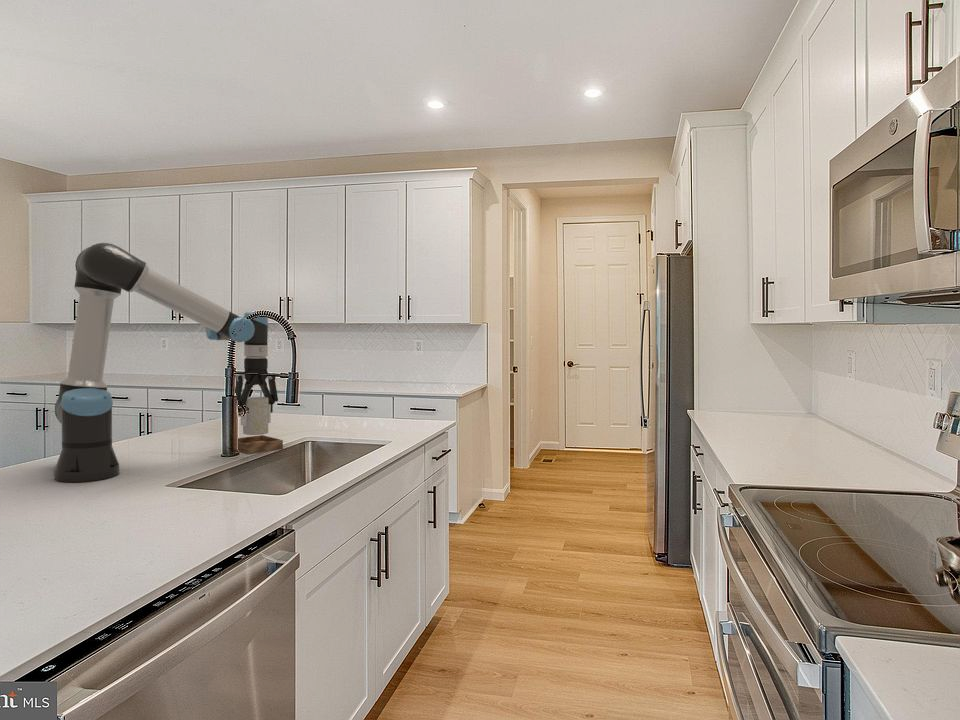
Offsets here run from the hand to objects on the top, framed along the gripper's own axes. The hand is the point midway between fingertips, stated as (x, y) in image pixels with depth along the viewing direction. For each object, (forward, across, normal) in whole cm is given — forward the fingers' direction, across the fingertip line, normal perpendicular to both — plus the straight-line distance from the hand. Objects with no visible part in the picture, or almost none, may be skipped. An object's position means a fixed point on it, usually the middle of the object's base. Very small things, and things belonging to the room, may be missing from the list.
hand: (255, 423), depth 212 cm
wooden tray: (+8, 0, 0) cm, 8 cm away
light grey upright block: (+3, 0, 0) cm, 3 cm away
